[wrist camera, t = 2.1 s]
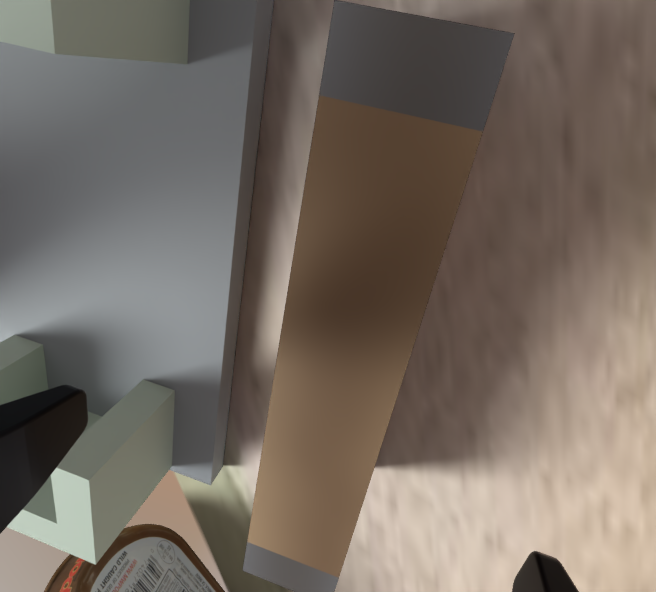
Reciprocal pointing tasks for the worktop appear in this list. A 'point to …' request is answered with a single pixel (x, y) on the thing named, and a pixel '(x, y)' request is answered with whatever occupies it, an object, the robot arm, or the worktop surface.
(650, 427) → the worktop surface
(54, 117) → the post frame
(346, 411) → the rail
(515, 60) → the worktop surface
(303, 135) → the worktop surface
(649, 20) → the worktop surface
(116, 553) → the tin
